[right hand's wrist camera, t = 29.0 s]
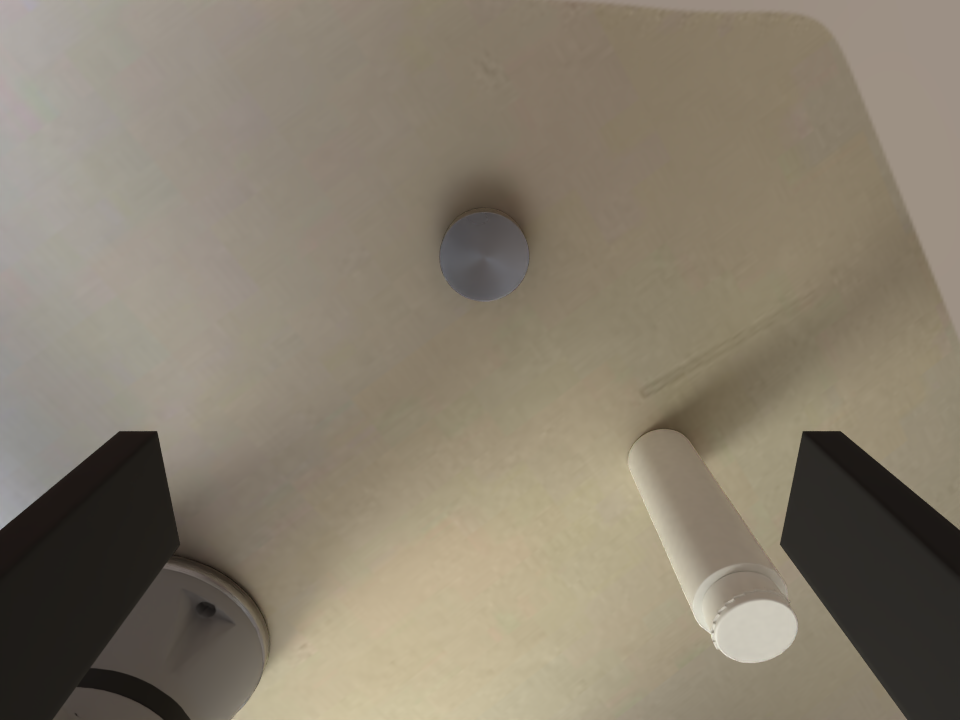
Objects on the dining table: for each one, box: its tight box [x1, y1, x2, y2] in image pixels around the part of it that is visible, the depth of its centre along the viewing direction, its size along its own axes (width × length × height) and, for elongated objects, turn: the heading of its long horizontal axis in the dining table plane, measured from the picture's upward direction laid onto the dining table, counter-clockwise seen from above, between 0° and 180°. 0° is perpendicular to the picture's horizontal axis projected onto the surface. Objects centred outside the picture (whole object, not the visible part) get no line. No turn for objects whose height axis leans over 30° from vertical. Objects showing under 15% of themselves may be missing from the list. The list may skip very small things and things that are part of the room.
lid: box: [439, 208, 529, 301], centre depth 36 cm, size 5×5×2 cm
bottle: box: [628, 429, 798, 663], centre depth 35 cm, size 4×4×16 cm
